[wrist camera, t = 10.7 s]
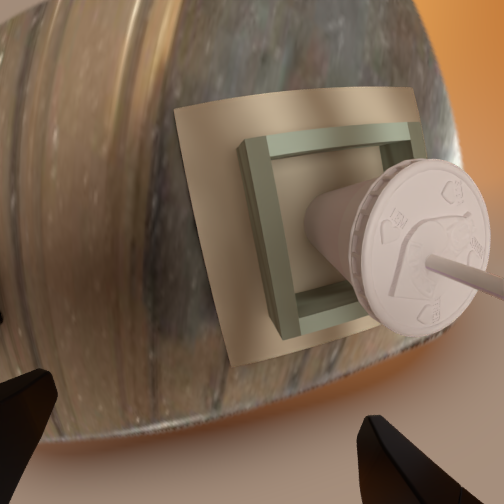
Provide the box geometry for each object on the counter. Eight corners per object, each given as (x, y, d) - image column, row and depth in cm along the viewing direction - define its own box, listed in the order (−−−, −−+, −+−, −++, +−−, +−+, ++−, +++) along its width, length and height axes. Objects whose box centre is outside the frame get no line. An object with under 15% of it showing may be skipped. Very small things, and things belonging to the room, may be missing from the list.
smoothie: (260, 207, 18) (420, 257, 5) (346, 149, 18) (554, 113, 5) (316, 294, 20) (474, 438, 6) (392, 235, 20) (582, 295, 6)
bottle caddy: (229, 360, 21) (237, 399, 16) (174, 113, 17) (167, 90, 13) (429, 299, 23) (466, 318, 18) (404, 90, 19) (443, 75, 15)
